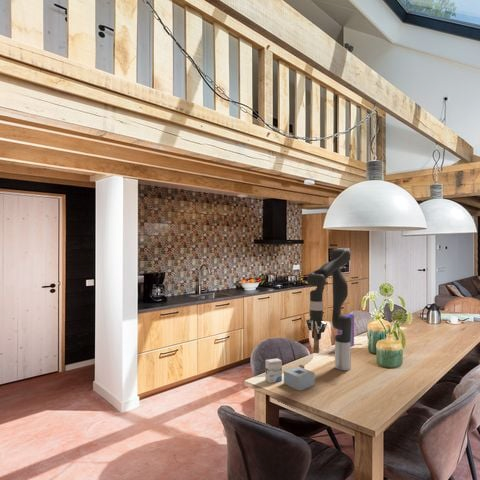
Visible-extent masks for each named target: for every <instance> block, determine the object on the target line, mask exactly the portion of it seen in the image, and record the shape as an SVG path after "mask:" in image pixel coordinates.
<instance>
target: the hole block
mask: <svg viewBox="0 0 480 480" xmlns="http://www.w3.org/2000/svg"><path fill="white" fill-rule="evenodd" d="M315 373H316V372H314V371H311V370H309V369H305V367H304V368H301V367H299V366H296V367H293V368H290V369H286V370H283V384H284V385H285V386H288V387H291V388H292V389H295V390H297V391H299V392H300V391H303V390H305V389H306V390H307V389H308V388H312V387H314V386H315V385H316V384H315V382H316V381H315V379H316V378H315V377H316V374H315Z"/></svg>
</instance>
